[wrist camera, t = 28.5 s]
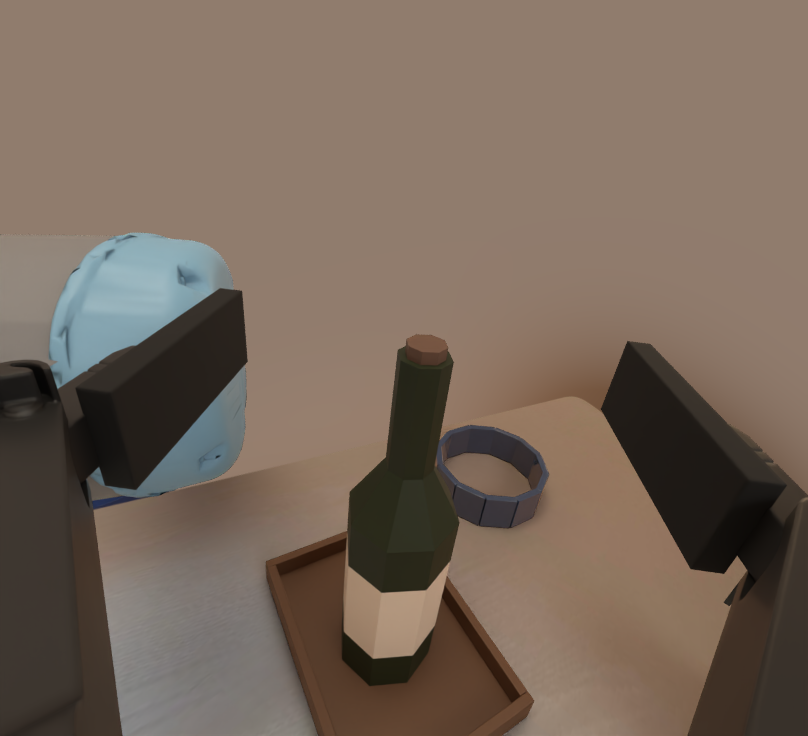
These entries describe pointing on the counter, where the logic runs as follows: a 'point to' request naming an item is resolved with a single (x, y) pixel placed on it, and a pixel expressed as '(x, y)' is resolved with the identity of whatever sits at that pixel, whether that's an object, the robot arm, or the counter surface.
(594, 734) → the counter surface
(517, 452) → the segmented polygonal ring
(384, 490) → the wine bottle
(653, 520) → the counter surface
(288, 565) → the tray
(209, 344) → the robot arm
